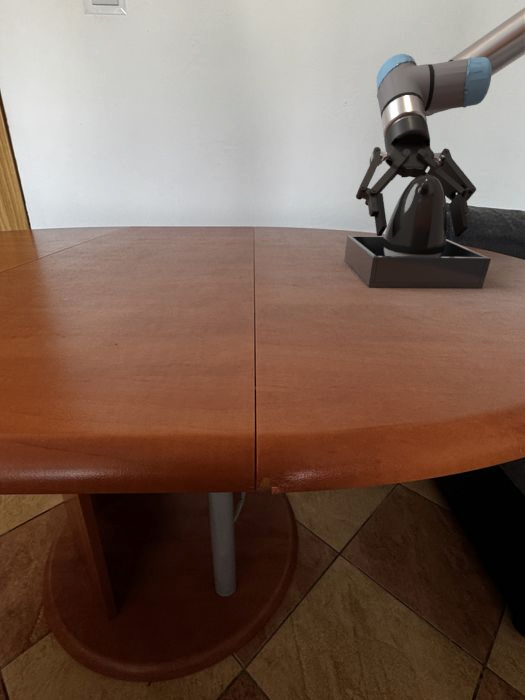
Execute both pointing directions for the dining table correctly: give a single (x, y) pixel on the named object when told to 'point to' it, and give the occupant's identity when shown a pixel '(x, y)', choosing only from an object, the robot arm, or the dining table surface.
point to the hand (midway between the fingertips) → (422, 232)
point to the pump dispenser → (418, 220)
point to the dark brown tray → (415, 266)
